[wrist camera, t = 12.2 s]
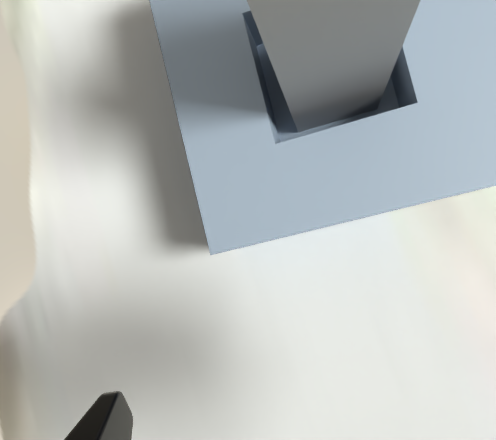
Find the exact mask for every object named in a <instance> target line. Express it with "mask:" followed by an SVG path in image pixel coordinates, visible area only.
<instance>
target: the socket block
mask: <svg viewBox="0 0 496 440" xmlns="http://www.w3.org/2000/svg"><path fill="white" fill-rule="evenodd" d="M149 1H150V5H151V9H152V13H153V17H154V22H155V26H156V30H157V34H158V38H159V42H160V47H161V51H162V55H163V59H164V63H165V67H166V71H167V76H168V80H169V84H170V88H171V92H172V96H173V101H174V105H175V109H176V113H177V117H178V121H179V126H180V130H181V134H182V138H183V142H184V146H185V151H186V155H187V159H188V163H189V167H190V171H191V175H192V180H193V184H194V188H195V192H196V196H197V200H198V205H199V209H200V213H201V217H202V221H203V225H204V230H205V234H206V238H207V242H208V246H209V250H210V255H213V254H217V253H221V252H226V251H230V250H234V249H238V248H242V247H246V246H250V245H254V244H258V243H262V242H266V241H271V240H275V239H279V238H283V237H287V236H291V235H295V234H299V233H303V232H307V231H311V230H316V229H320V228H324V227H328V226H332V225H336V224H340V223H344V222H348V221H352V220H356V219H361V218H365V217H369V216H373V215H377V214H381V213H385V212H389V211H393V210H397V209H402V208H406V207H410V206H414V205H418V204H422V203H426V202H430V201H434V200H438V199H442V198H447V197H451V196H455V195H459V194H463V193H467V192H471V191H475V190H479V189H483V188H487V187H492V186H496V0H420V3H419V5H418V8H417V10H416V13H415V15H414V18H413V20H412V23H411V25H410V28H409V30H408V33H407V36H406V38H405V41H404V43H403V46H402V48H401V51H400V53H399V56H398V58H397V61H396V63H395V66H394V68H393V71H392V73H391V76H390V78H389V81H388V83H387V86H386V88H385V91H384V94H383V96H382V99H381V101H380V104H379V106H378V109H377V110H373V111H370V112H366V113H363V114H360V115H356V116H353V117H349V118H346V119H343V120H339V121H336V122H332V123H329V124H325V125H322V126H319V127H315V128H312V129H308V130H305V131H302V132H298V130H297V128H296V125H295V123H294V120H293V118H292V115H291V112H290V110H289V107H288V105H287V102H286V100H285V97H284V94H283V92H282V89H281V87H280V84H279V82H278V79H277V76H276V74H275V71H274V69H273V66H272V64H271V61H270V59H269V56H268V53H267V51H266V48H265V46H264V43H263V41H262V38H261V35H260V33H259V30H258V28H257V25H256V23H255V20H254V18H253V15H252V12H251V10H250V7H249V5H248V2H247V0H149Z"/></svg>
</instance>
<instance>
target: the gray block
mask: <svg viewBox="0 0 496 440" xmlns="http://www.w3.org/2000/svg"><path fill="white" fill-rule="evenodd" d="M247 2H248V5H249V7H250V10H251V12H252V15H253V18H254V20H255V23H256V25H257V28H258V30H259V33H260V35H261V38H262V41H263V43H264V46H265V48H266V51H267V53H268V56H269V59H270V61H271V64H272V66H273V69H274V71H275V74H276V76H277V79H278V82H279V84H280V87H281V89H282V92H283V94H284V97H285V100H286V102H287V105H288V107H289V110H290V112H291V115H292V118H293V120H294V123H295V125H296V128H297V130H298V132H302V131H305V130H308V129H312V128H315V127H319V126H322V125H325V124H329V123H332V122H336V121H339V120H343V119H346V118H349V117H353V116H356V115H360V114H363V113H366V112H370V111H373V110H377V109H378V106H379V104H380V101H381V99H382V96H383V94H384V91H385V88H386V86H387V83H388V81H389V78H390V76H391V73H392V71H393V68H394V66H395V63H396V61H397V58H398V56H399V53H400V51H401V48H402V46H403V43H404V41H405V38H406V36H407V33H408V30H409V28H410V25H411V23H412V20H413V18H414V15H415V13H416V10H417V8H418V5H419V3H420V0H247Z"/></svg>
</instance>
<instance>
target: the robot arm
mask: <svg viewBox="0 0 496 440" xmlns="http://www.w3.org/2000/svg"><path fill="white" fill-rule="evenodd" d="M132 427H133V416H132V413H131V410H130V408H129V406H128V404H127V402H126V400H125V398H124V396H123V394H122V393H121V392H119V391H116V392H108V393H104V394H102V395H101V396H100V397H99V398H98V399H97V400H96V401H95V403H94V404H93V405H92V406H91V408H90V409H89V410H88V411H87V412H86V414H85V415H84V416H83V417H82V419H81V420H80V421H79V422H78V423H77V425H76V426H75V427H74V428H73V430H72V431H71V432H70V433H69V434H68V436H67V437H66V438H65V439H64V440H131V437H132Z"/></svg>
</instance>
